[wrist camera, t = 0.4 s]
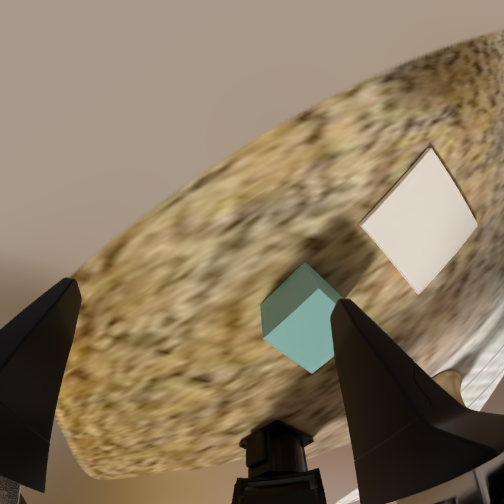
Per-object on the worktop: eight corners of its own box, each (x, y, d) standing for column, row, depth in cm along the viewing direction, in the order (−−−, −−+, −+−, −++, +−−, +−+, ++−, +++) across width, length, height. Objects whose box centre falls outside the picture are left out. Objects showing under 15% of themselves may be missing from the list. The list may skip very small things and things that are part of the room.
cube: (344, 298, 24) (364, 330, 19) (301, 336, 25) (311, 373, 20) (304, 261, 23) (318, 288, 18) (260, 303, 24) (263, 338, 19)
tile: (474, 223, 22) (477, 225, 21) (415, 292, 24) (418, 295, 23) (427, 148, 20) (431, 148, 19) (358, 224, 22) (361, 226, 21)
